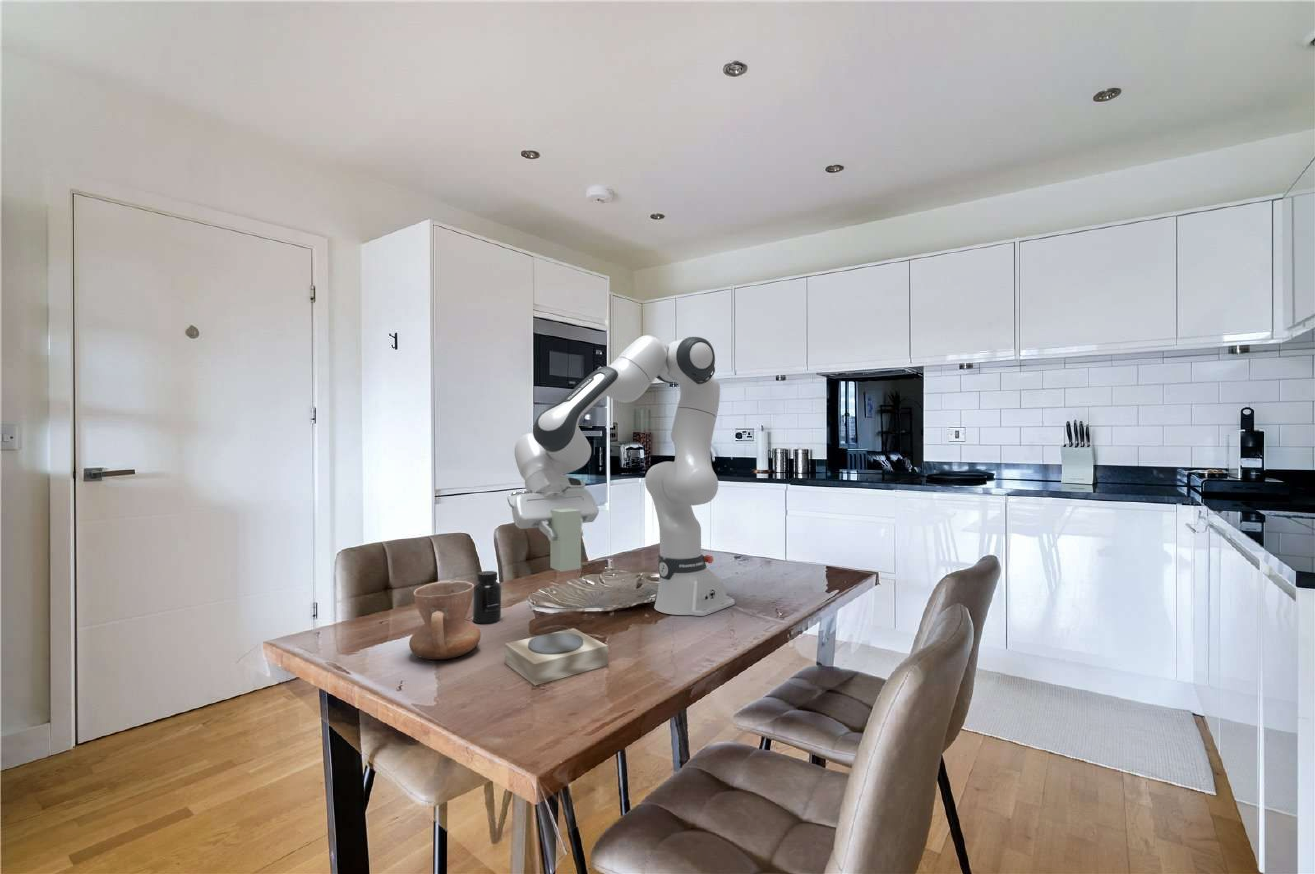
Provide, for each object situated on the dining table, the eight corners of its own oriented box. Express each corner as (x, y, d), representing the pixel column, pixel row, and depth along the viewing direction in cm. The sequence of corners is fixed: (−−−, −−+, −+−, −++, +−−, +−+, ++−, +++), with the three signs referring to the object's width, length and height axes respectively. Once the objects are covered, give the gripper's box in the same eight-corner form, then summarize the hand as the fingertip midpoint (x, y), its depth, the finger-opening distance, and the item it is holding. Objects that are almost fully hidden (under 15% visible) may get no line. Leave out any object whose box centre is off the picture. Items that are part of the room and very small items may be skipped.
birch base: (573, 646, 134) (573, 625, 134) (607, 665, 123) (607, 642, 123) (504, 662, 125) (504, 640, 125) (534, 685, 113) (534, 660, 113)
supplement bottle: (493, 625, 149) (493, 576, 149) (467, 623, 151) (467, 575, 151) (505, 616, 156) (505, 570, 156) (481, 615, 157) (480, 569, 157)
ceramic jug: (421, 640, 139) (420, 578, 138) (487, 637, 140) (485, 575, 140) (396, 673, 121) (394, 602, 120) (472, 668, 122) (470, 598, 122)
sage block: (570, 564, 139) (570, 508, 139) (580, 568, 135) (581, 510, 135) (550, 567, 136) (550, 509, 136) (560, 571, 132) (560, 511, 132)
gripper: (509, 483, 135) (527, 533, 127) (589, 479, 147) (610, 524, 140) (501, 501, 139) (518, 551, 131) (580, 496, 151) (600, 541, 143)
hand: (567, 537), depth 135 cm, fingers closed on sage block, 5 cm apart
